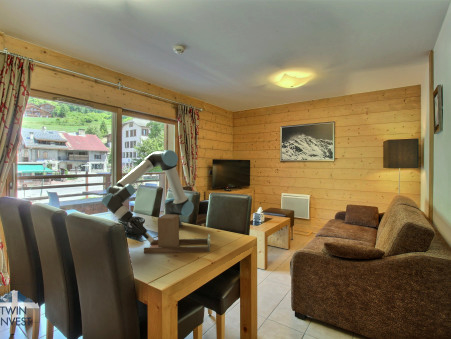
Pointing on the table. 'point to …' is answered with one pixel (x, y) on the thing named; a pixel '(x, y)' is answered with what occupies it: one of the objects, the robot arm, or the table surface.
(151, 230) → the table surface
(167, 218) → the wooden block
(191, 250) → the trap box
